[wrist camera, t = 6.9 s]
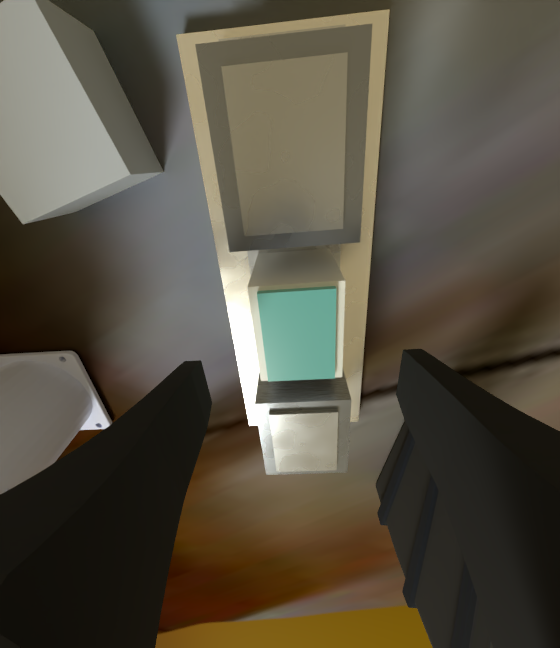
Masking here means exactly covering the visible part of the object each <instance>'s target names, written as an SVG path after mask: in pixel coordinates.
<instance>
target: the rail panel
mask: <svg viewBox="0 0 560 648" xmlns="http://www.w3.org/2000/svg"><path fill="white" fill-rule="evenodd" d="M389 12H390V9H388V10H379V11H371V12H362V13H354V14H346V15H337V16H329V17H320V18H312V19H304V20H295V21H287V22H278V23H270V24H262V25H253V26H245V27H236V28H228V29H220V30H211V31H203V32H194V33H186V34H178V35H176V37H177V42H178V47H179V53H180V58H181V63H182V69H183V74H184V79H185V85H186V90H187V95H188V101H189V106H190V111H191V117H192V122H193V127H194V133H195V138H196V143H197V149H198V154H199V160H200V165H201V170H202V176H203V181H204V186H205V192H206V197H207V202H208V208H209V213H210V218H211V224H212V229H213V234H214V240H215V245H216V250H217V256H218V261H219V266H220V272H221V277H222V282H223V288H224V293H225V298H226V304H227V309H228V314H229V320H230V325H231V330H232V336H233V341H234V346H235V352H236V357H237V362H238V368H239V373H240V378H241V384H242V389H243V394H244V400H245V405H246V411H247V416H248V421H249V426H251V425H258V427H259V433H260V439H261V445H262V451H263V457H264V463H265V469H266V475H274V474H309V473H344V472H347V470H348V452H349V434H350V422H355V421H359V408H360V395H361V382H362V369H363V356H364V342H365V329H366V316H367V303H368V289H369V276H370V263H371V250H372V237H373V223H374V210H375V197H376V184H377V171H378V157H379V144H380V131H381V118H382V104H383V91H384V78H385V65H386V52H387V38H388V25H389ZM328 248H330V250H331V252H332V254H333V256H334V258H335V260H336V262H337V264H338V266H339V268H340V271H341V273H342V275H343V277H344V279H345V309H344V339H343V369H342V377H337V378H334V379H313V380H292V381H270V382H268V381H261V379H260V372H259V365H258V358H257V351H256V344H255V337H254V330H253V323H252V316H251V309H250V302H249V295H248V288H247V287H248V283H249V280H250V277H251V274H252V271H253V268H254V265H255V262H256V258H257V255H258V254H259V253H273V252H287V251H301V250H314V249H328Z"/></svg>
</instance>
